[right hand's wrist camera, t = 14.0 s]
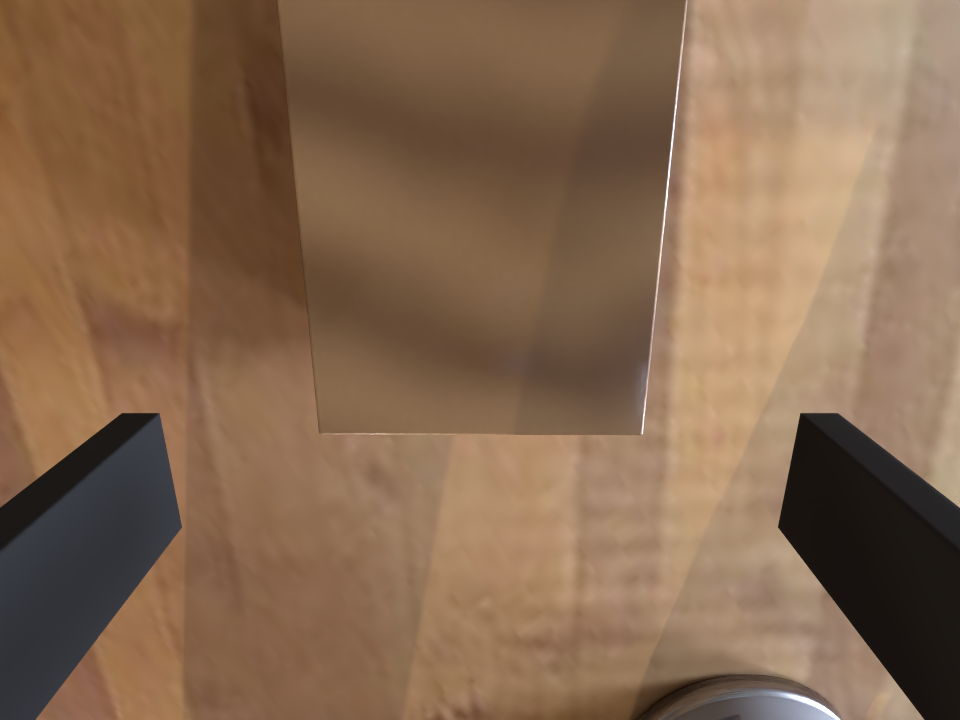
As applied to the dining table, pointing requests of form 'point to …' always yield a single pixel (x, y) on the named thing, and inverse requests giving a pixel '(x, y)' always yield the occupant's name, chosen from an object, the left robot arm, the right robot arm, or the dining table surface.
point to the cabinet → (481, 208)
